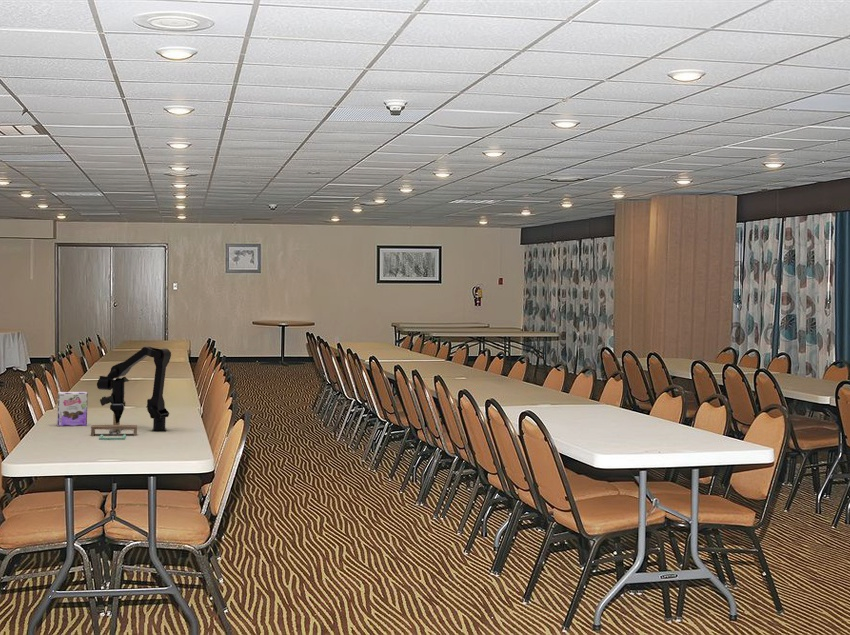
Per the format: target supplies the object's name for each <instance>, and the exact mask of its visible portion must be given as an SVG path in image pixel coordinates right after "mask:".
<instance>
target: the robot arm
mask: <svg viewBox="0 0 850 635" xmlns="http://www.w3.org/2000/svg"><path fill="white" fill-rule="evenodd" d="M147 357H149V358H153V363H154V366H155V370H154V380H153V388H152V395H151V398H148V399H147V401H146V406H145V407H146V410H147V411H146V412H148V414H149V417H150V419H152V420H153V421H152V425H153V426H152V429H151V431H152V432H166V431H167V428H166V422H167V420H166V418H168V417H169V415H170V412H169V410H167V408H166V406H165V405H166V404H165V403H166V402H165V399H164V396H163V395H164V387H165V380H166V371H167V367H168V365H169V362H170V361H171V357H172V352H171V351H170V349H168V348H158V347H152V346H143V347H142V348H140V350H138V351H136V353H134V354H133V355H131V356H130V357H128V358H127V359H126V360H124V361H121V362H120V363H116V364H115V365H113V366H111V367H110V371H109V373H108V374H107V375H106V376H105V375H99V378H98V380H97V382H96V387H97V389H98V390H99V391H100V390H101V391H102V390H104V391H105V390H106V391H111V393H110V395H108V396H102V398H99V403H100V405H101V407H103V406H105V405H108V404H110V405H109V406H110V407H109V410H111V411H112V413H113V412H114V414H115V419H116V423H119V420H120V421H121V418H122V416H123V413H124V410H125V409H126V401H125V394H126V392H125V382H130V380H129V379H128V378H127V377H126V376H127V374H128V373H129V372H130V371H131V369H132V368H133V367H135V365H137V364H138V363H140V362H141V361H142V360H144V359H146V358H147Z"/></svg>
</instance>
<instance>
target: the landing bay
mask: <svg viewBox="0 0 850 635" xmlns="http://www.w3.org/2000/svg"><path fill="white" fill-rule="evenodd" d="M126 437H127V434H123V436H122V437H104V434H100V436H99V438H98V440H99V441H101V440H103V441H107V440H109V441H113V440H114V441H116V440H117V441H118V440H119V441H121V440H123V441H124V440H125V439H126Z"/></svg>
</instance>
